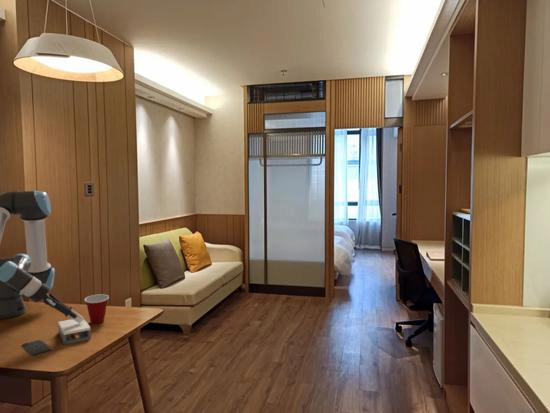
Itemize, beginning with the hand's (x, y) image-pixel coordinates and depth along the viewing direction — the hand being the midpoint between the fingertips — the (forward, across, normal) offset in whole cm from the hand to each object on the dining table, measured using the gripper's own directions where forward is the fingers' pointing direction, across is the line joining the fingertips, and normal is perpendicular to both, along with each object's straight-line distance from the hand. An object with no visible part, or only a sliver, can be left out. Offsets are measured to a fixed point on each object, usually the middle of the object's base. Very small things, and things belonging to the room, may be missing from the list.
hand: (81, 320), depth 164 cm
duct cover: (-1, 0, -4) cm, 4 cm away
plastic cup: (+11, -13, +2) cm, 17 cm away
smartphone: (-8, +4, -17) cm, 19 cm away
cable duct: (+2, 0, -7) cm, 7 cm away
